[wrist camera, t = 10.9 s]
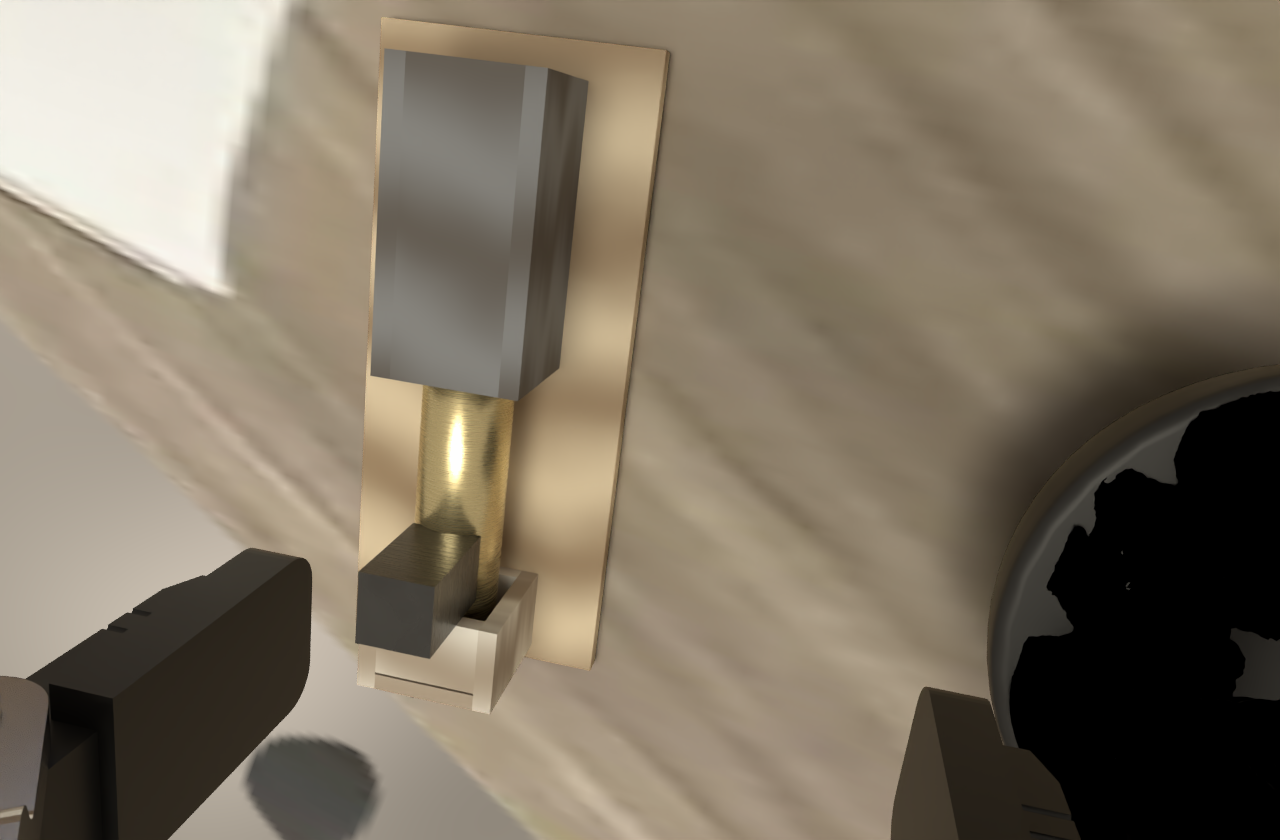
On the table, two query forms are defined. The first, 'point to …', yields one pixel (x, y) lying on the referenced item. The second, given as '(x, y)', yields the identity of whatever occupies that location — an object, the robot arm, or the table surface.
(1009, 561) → the coal bowl
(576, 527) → the tube stand
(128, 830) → the robot arm
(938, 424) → the table surface
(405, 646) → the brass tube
